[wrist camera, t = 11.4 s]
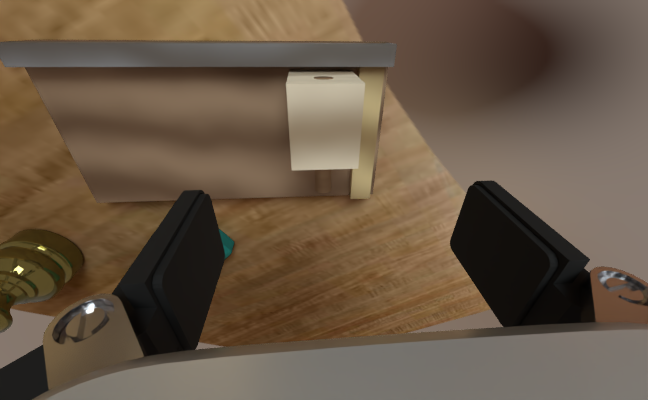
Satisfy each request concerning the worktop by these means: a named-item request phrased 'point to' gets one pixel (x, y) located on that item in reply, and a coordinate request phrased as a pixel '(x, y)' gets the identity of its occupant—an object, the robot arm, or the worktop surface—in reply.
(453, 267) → the worktop surface
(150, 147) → the board
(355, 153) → the block with top hole
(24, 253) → the brass pawn finial
